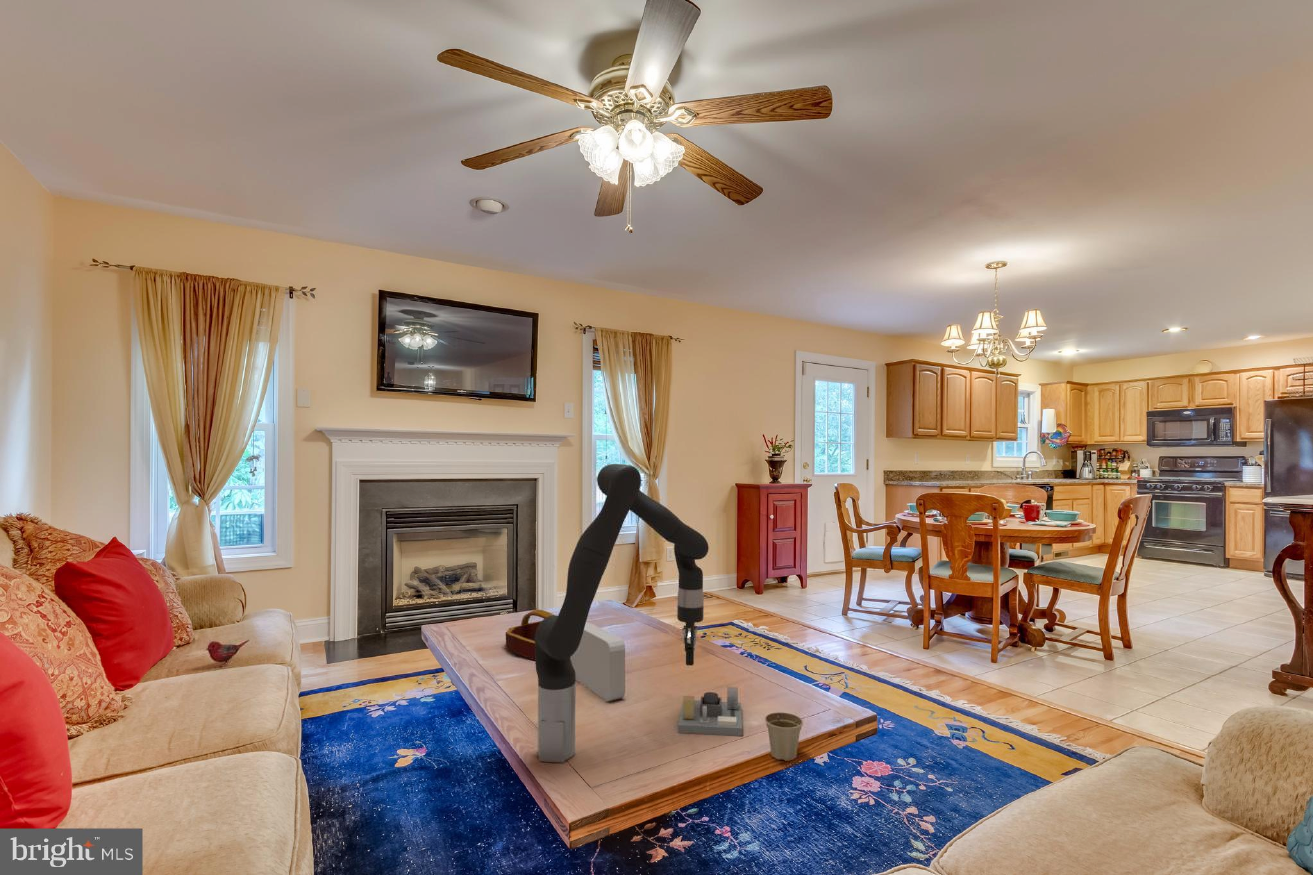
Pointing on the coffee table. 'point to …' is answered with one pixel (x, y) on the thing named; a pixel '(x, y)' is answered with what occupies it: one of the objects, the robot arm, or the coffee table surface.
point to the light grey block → (732, 697)
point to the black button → (711, 698)
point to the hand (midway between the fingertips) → (689, 664)
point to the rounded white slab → (600, 663)
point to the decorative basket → (525, 635)
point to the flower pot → (783, 734)
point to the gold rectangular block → (688, 707)
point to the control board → (712, 719)
